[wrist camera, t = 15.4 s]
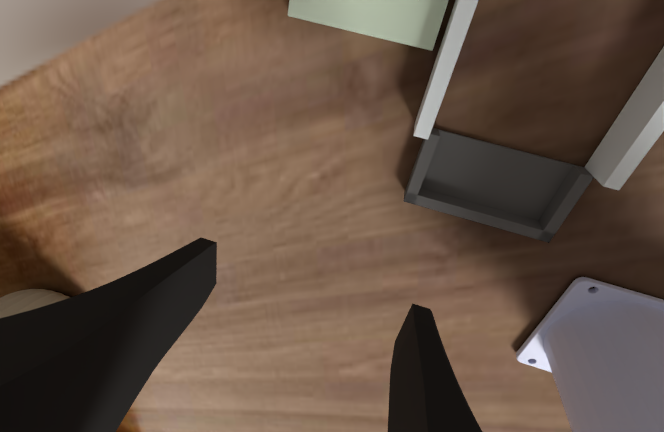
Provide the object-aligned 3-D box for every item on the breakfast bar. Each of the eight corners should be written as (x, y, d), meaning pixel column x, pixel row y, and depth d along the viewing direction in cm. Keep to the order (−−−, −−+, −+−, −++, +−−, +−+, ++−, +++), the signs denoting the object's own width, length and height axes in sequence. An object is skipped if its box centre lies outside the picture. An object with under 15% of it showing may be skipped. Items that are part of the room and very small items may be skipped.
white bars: (833, -173, 11) (917, -209, 9) (598, 171, 17) (618, 190, 15) (528, -222, 12) (547, -265, 10) (414, 122, 18) (413, 135, 16)
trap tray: (584, 167, 17) (593, 177, 16) (542, 230, 20) (549, 242, 19) (428, 126, 18) (427, 133, 17) (404, 191, 20) (403, 201, 19)
